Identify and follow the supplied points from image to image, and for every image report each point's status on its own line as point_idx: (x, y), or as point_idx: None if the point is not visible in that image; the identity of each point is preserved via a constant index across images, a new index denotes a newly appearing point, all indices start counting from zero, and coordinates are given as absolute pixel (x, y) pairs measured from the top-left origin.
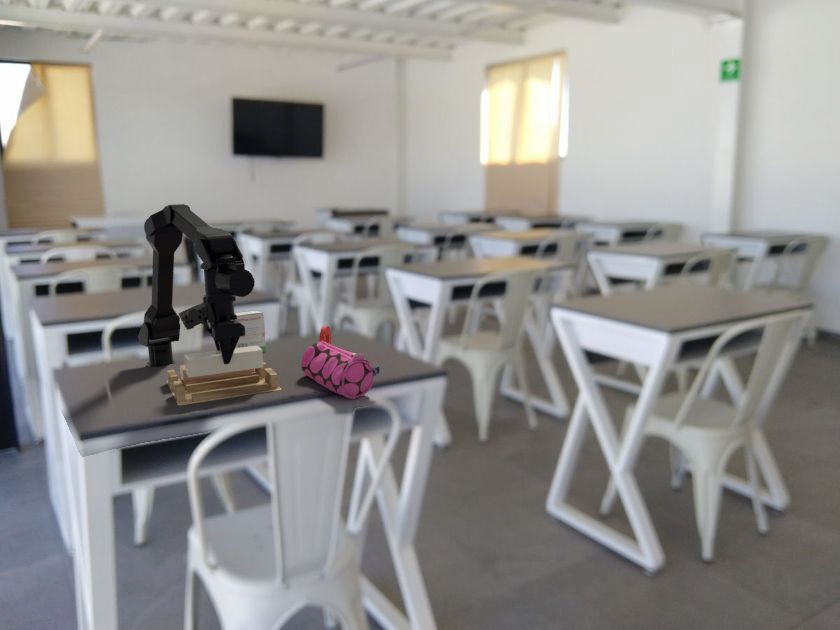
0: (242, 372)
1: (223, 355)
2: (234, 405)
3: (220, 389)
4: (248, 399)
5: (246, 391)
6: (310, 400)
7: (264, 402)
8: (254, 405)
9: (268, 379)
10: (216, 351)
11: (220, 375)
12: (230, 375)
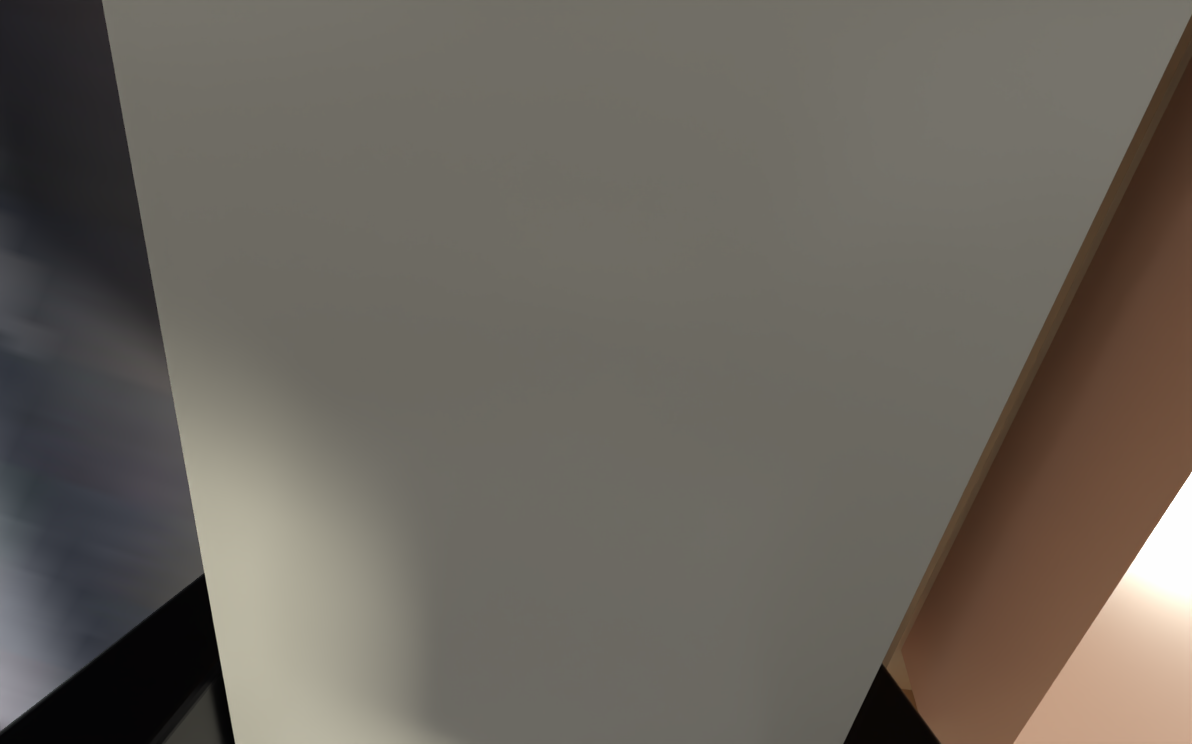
0: (966, 618)
1: (85, 690)
2: None
3: None
4: None
5: None
6: (47, 694)
7: (126, 445)
8: (57, 343)
9: None
10: (731, 708)
11: (1086, 395)
12: (969, 487)
